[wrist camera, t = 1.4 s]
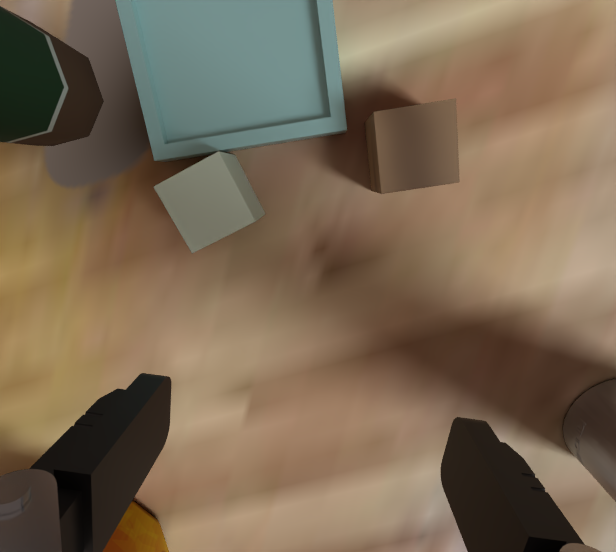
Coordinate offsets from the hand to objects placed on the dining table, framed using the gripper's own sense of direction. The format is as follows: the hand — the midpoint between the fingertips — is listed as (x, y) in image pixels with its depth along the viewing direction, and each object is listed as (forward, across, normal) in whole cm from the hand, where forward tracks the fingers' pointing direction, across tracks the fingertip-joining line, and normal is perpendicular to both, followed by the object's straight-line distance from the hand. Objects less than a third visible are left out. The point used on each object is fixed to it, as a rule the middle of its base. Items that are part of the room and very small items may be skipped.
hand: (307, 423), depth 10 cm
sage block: (+21, +8, -4) cm, 23 cm away
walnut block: (+21, -5, -9) cm, 23 cm away
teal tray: (+21, +8, -15) cm, 27 cm away
